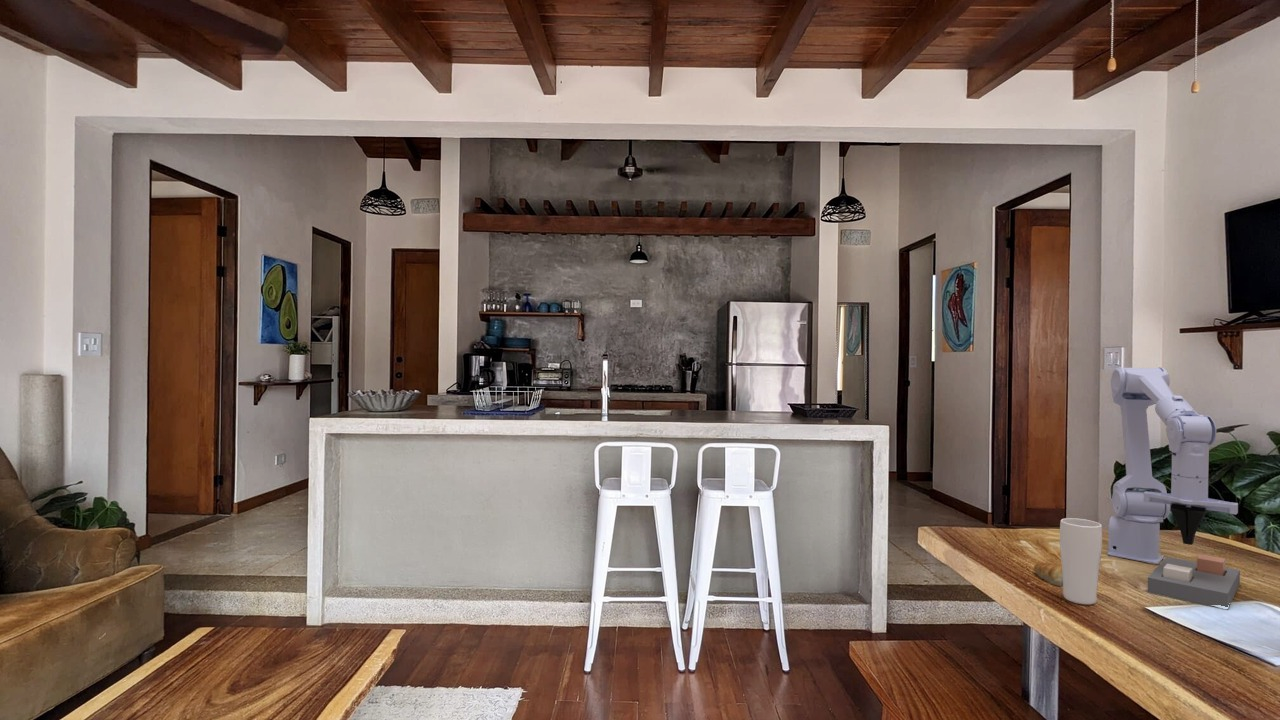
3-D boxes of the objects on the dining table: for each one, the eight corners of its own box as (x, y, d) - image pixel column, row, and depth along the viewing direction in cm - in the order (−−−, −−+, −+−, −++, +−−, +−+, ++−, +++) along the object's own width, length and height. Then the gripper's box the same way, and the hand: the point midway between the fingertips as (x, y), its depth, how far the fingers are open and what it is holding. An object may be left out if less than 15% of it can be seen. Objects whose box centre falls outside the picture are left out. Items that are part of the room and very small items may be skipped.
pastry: (1024, 573, 145) (1024, 555, 145) (1051, 572, 146) (1052, 554, 146) (1059, 588, 136) (1059, 569, 136) (1088, 587, 137) (1088, 568, 137)
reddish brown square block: (1196, 572, 138) (1197, 558, 138) (1199, 568, 141) (1200, 554, 141) (1222, 577, 135) (1222, 562, 135) (1225, 573, 138) (1225, 558, 138)
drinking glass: (1101, 609, 124) (1103, 528, 124) (1058, 602, 128) (1059, 523, 128) (1100, 598, 130) (1101, 521, 130) (1058, 591, 134) (1059, 516, 133)
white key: (1163, 582, 134) (1163, 567, 134) (1166, 578, 137) (1167, 563, 137) (1188, 588, 131) (1189, 572, 131) (1192, 583, 134) (1192, 568, 134)
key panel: (1147, 592, 133) (1147, 577, 133) (1166, 570, 147) (1166, 556, 147) (1227, 609, 125) (1227, 593, 125) (1239, 584, 138) (1239, 569, 138)
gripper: (1140, 473, 137) (1139, 539, 138) (1235, 483, 127) (1233, 555, 127) (1148, 469, 142) (1146, 533, 142) (1239, 479, 132) (1238, 548, 132)
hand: (1188, 543), depth 135 cm, fingers closed
